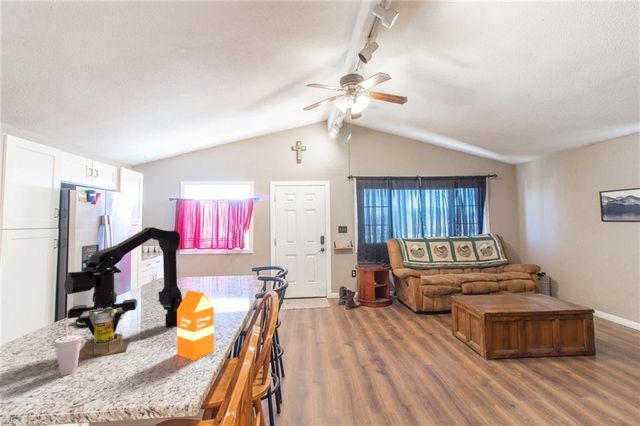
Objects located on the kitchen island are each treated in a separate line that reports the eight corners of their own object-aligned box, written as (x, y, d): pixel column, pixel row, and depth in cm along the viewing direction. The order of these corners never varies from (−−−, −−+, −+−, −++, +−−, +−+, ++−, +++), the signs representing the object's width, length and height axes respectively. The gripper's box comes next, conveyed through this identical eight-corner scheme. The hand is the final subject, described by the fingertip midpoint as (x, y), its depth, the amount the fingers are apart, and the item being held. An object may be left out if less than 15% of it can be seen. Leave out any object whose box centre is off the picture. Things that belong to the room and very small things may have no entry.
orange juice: (193, 360, 92) (193, 295, 92) (176, 354, 96) (176, 292, 97) (214, 350, 98) (214, 290, 99) (197, 345, 103) (197, 287, 104)
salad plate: (124, 311, 147) (124, 301, 147) (132, 319, 134) (132, 309, 135) (74, 320, 134) (74, 310, 134) (78, 330, 121) (78, 319, 121)
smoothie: (65, 367, 89) (65, 320, 89) (88, 365, 90) (88, 319, 90) (47, 378, 83) (48, 327, 83) (72, 376, 83) (72, 326, 84)
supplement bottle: (93, 347, 98) (93, 316, 98) (95, 341, 102) (94, 311, 102) (114, 343, 101) (113, 312, 101) (114, 337, 105) (114, 308, 105)
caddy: (130, 339, 110) (130, 329, 110) (125, 351, 99) (125, 341, 99) (83, 347, 104) (83, 336, 104) (72, 361, 93) (72, 349, 93)
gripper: (138, 280, 113) (138, 321, 113) (77, 286, 105) (77, 330, 105) (135, 286, 103) (135, 331, 103) (66, 292, 95) (66, 341, 95)
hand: (104, 333), depth 102 cm, fingers closed on supplement bottle, 5 cm apart
